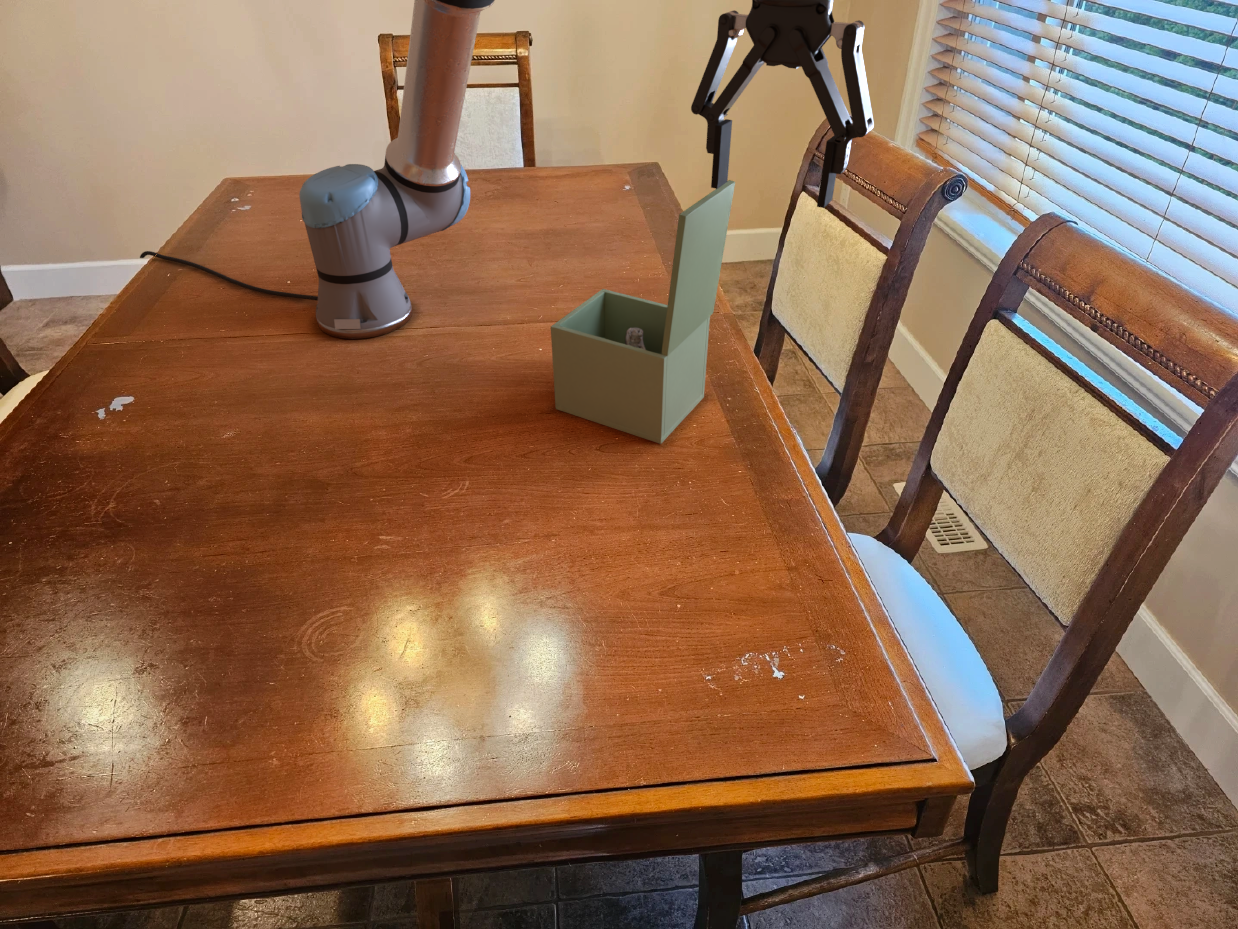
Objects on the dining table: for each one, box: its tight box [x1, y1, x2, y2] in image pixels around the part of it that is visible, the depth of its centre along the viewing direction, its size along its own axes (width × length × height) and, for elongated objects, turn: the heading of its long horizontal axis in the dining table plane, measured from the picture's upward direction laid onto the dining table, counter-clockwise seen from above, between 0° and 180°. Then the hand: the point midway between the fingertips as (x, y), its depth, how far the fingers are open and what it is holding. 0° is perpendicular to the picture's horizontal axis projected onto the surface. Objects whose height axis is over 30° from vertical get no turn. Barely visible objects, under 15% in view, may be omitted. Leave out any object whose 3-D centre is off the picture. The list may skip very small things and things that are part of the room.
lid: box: [662, 179, 736, 356], centre depth 95 cm, size 18×13×1 cm
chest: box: [550, 288, 711, 445], centre depth 108 cm, size 17×13×13 cm
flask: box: [625, 327, 646, 350], centre depth 108 cm, size 9×3×11 cm, turn 6°
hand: (770, 193), depth 85 cm, fingers open, 11 cm apart
